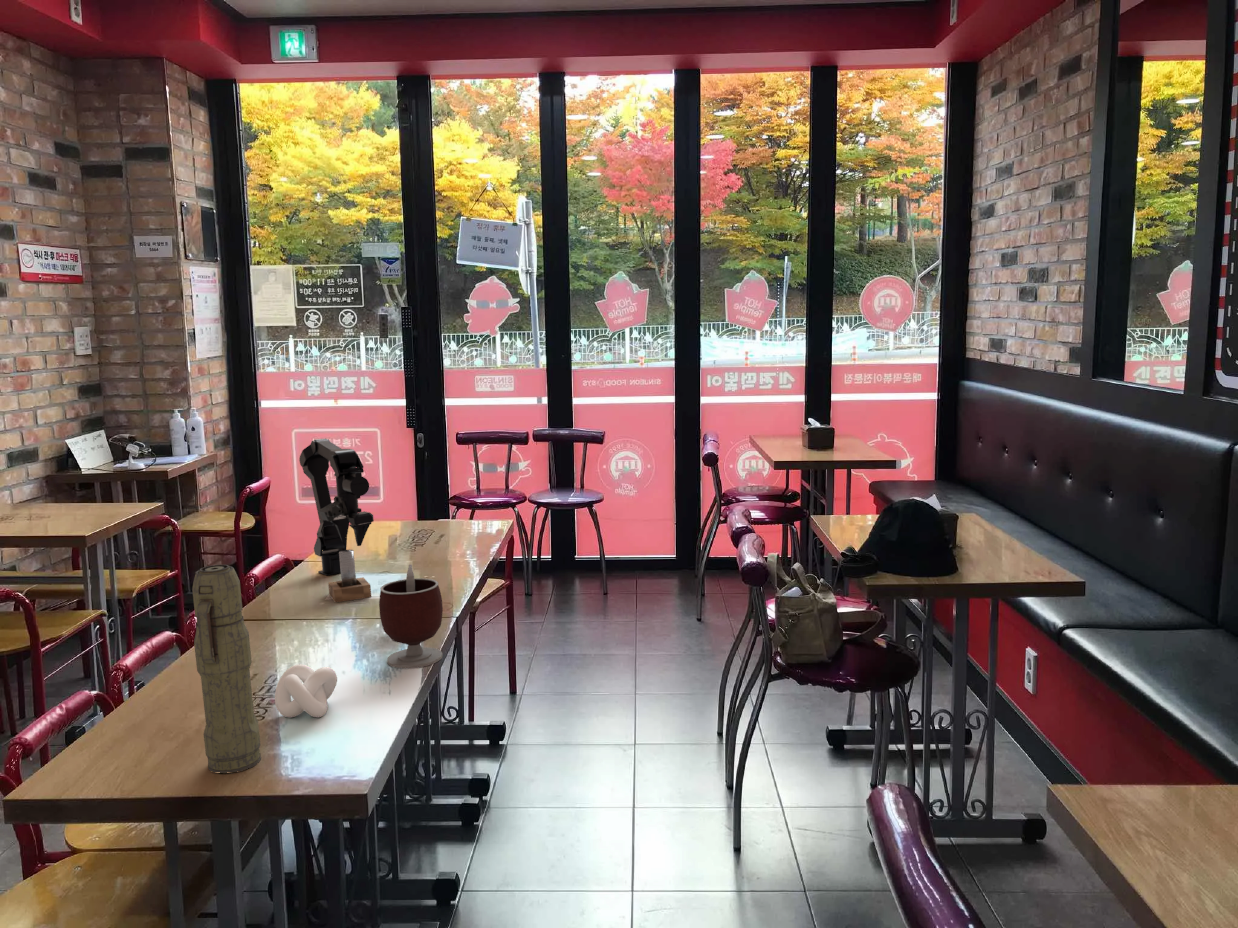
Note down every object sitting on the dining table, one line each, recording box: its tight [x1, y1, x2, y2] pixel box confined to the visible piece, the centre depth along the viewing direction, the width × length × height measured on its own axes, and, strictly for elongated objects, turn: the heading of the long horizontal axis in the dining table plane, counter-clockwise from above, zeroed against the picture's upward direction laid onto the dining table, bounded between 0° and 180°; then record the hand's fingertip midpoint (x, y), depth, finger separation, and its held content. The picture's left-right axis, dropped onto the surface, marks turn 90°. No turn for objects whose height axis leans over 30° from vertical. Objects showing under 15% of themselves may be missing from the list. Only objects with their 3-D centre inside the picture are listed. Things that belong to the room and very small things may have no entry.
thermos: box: [191, 564, 262, 773], centre depth 167 cm, size 9×12×35 cm
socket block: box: [327, 577, 372, 603], centre depth 277 cm, size 10×10×4 cm
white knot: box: [274, 663, 338, 718], centre depth 190 cm, size 11×12×9 cm
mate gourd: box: [378, 563, 444, 669], centre depth 220 cm, size 16×14×20 cm
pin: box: [339, 549, 357, 587], centre depth 276 cm, size 4×4×13 cm
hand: (351, 543), depth 290 cm, fingers open, 9 cm apart
